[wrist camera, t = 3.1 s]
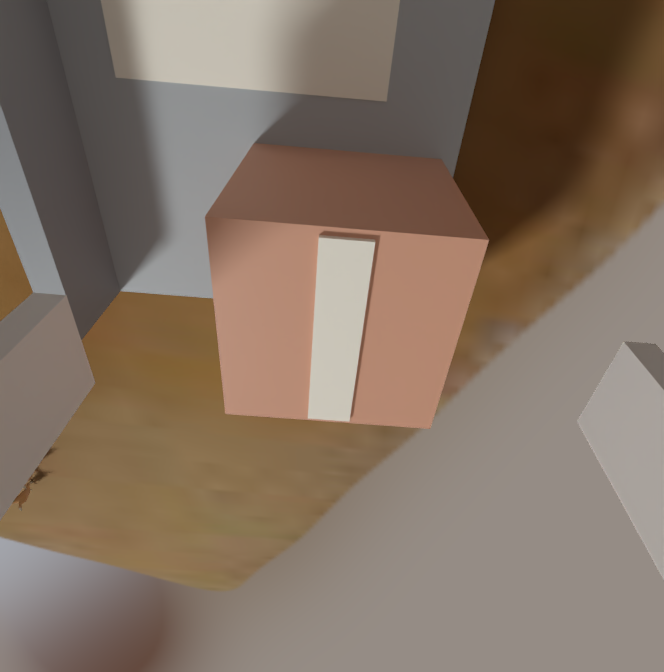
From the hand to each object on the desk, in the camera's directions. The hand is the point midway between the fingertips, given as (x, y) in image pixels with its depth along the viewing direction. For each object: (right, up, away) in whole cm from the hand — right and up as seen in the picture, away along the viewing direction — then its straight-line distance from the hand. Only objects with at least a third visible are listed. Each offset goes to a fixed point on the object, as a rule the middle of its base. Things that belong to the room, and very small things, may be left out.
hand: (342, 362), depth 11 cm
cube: (0, +4, +5) cm, 6 cm away
